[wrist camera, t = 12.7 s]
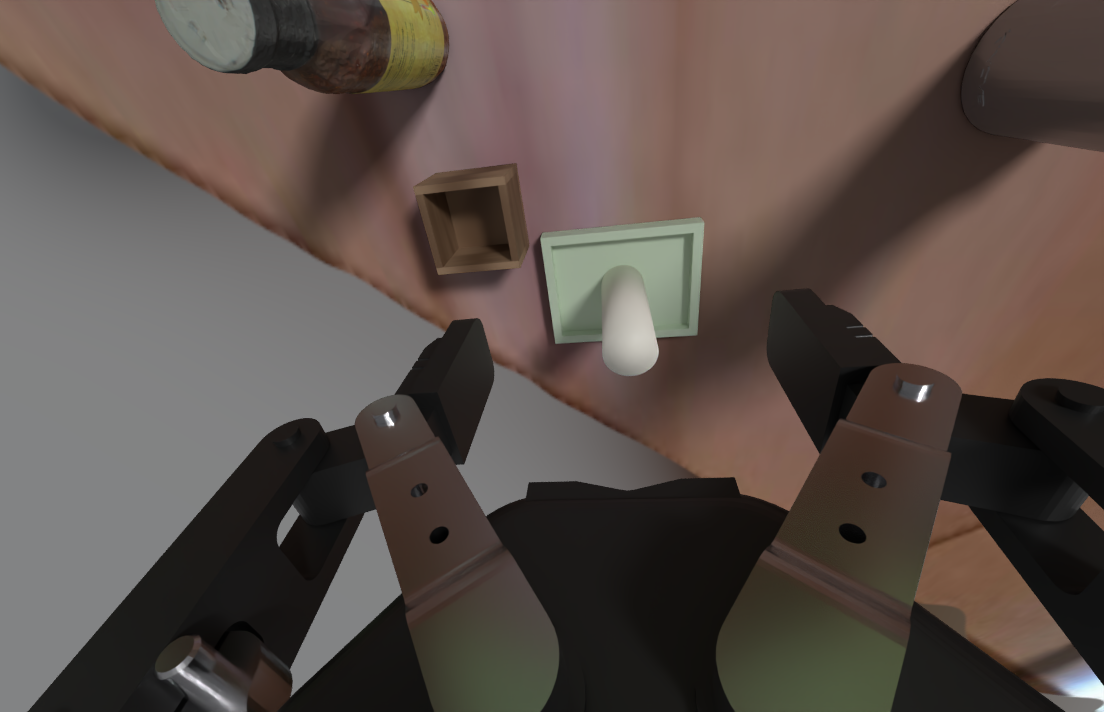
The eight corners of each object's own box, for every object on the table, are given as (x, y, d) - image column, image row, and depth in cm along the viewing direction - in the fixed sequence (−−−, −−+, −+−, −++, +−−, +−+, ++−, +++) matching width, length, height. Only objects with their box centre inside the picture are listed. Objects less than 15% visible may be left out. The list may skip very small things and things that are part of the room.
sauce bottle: (446, -16, 31) (263, -120, 14) (457, 88, 34) (322, 102, 17) (357, -13, 31) (82, -109, 15) (378, 89, 35) (173, 103, 18)
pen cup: (516, 163, 37) (504, 176, 32) (529, 245, 40) (520, 267, 36) (435, 173, 38) (413, 186, 33) (456, 252, 42) (438, 274, 37)
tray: (700, 217, 38) (704, 222, 36) (694, 327, 43) (697, 335, 42) (542, 232, 40) (540, 238, 38) (556, 335, 46) (555, 343, 44)
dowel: (643, 263, 40) (658, 327, 30) (644, 302, 42) (658, 374, 32) (599, 267, 40) (600, 331, 30) (602, 305, 42) (604, 377, 32)
